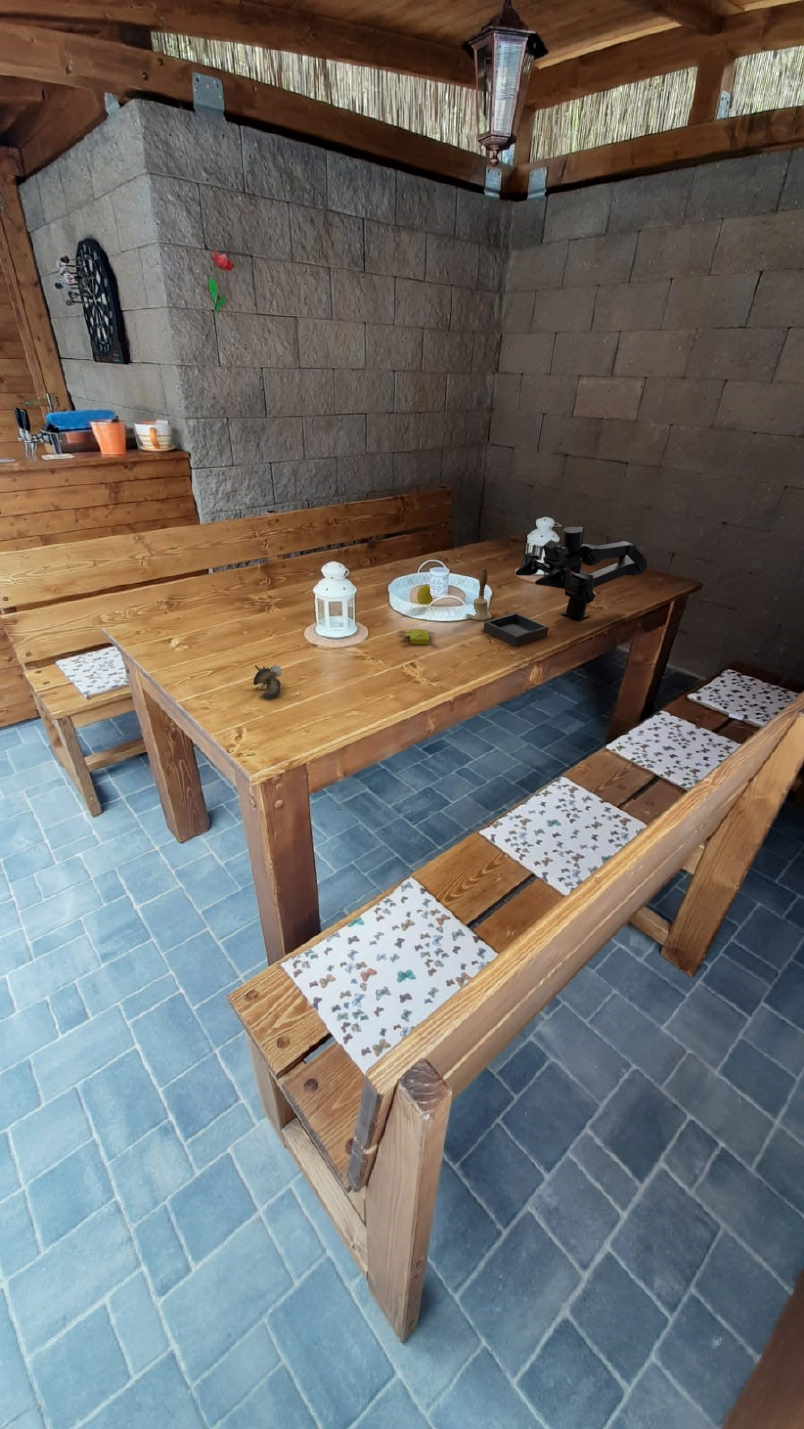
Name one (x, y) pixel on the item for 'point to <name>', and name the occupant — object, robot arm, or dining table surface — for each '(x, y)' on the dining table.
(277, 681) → the dark creature figurine
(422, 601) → the olive green oval piece
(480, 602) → the hand bell
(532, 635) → the bin
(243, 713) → the dining table surface
